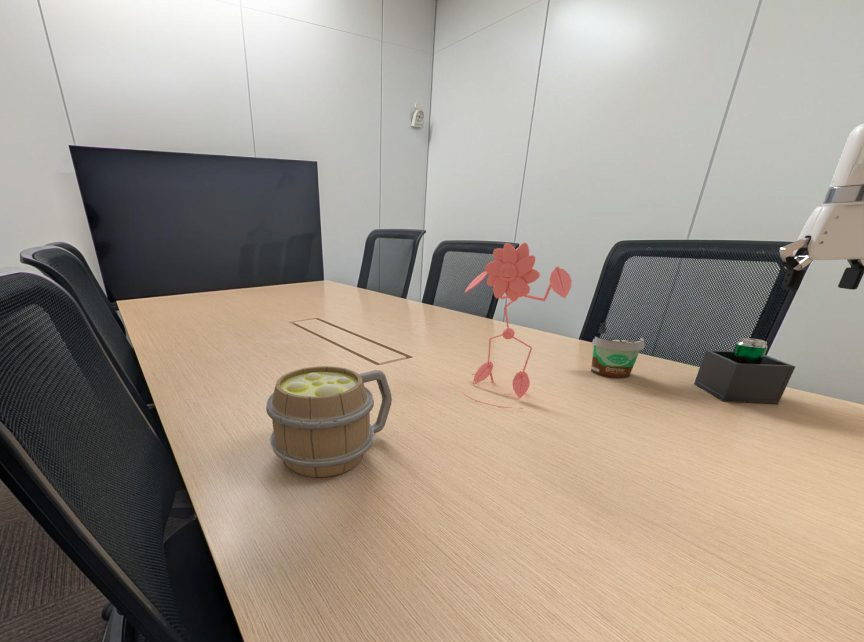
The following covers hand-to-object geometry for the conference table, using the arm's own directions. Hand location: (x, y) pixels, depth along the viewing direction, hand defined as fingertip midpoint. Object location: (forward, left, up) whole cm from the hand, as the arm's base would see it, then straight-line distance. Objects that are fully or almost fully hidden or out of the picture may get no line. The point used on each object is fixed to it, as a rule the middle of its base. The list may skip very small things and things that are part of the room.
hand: (817, 289), depth 77 cm
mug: (+94, +37, -25) cm, 104 cm away
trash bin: (+6, -2, -25) cm, 25 cm away
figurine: (+62, +6, -25) cm, 67 cm away
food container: (+28, -11, -25) cm, 39 cm away
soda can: (+6, -2, -24) cm, 25 cm away
